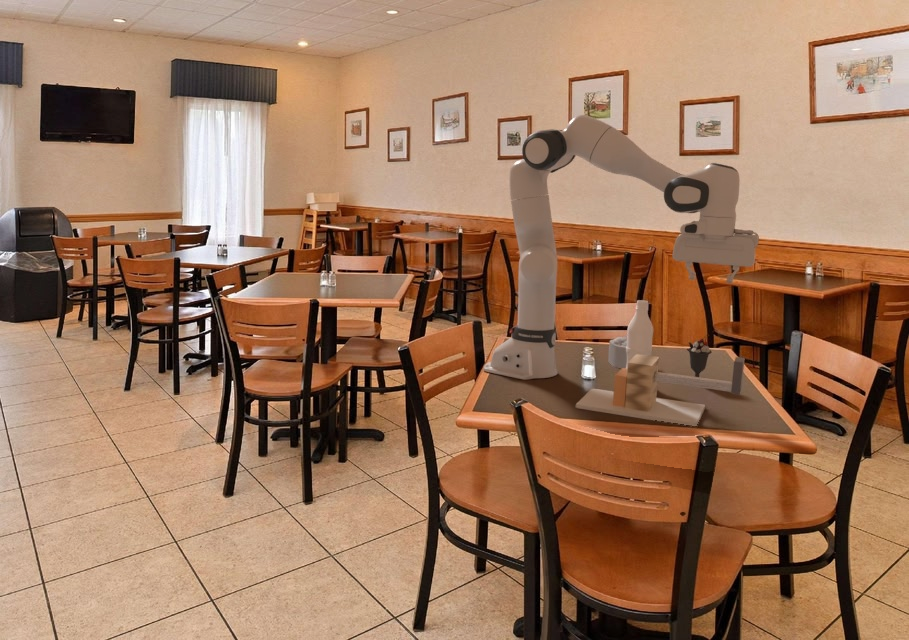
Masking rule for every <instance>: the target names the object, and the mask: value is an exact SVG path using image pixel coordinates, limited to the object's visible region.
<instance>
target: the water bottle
mask: <svg viewBox="0 0 909 640" xmlns="http://www.w3.org/2000/svg"><path fill="white" fill-rule="evenodd" d="M648 304H649V301H648V300H643V299H641V300H640V299H638V300H636V305H635V308H634V309H635V313H634V315H633V317H632V318H631V320H630V322H629V323H628V326H627V330H626V331H627V334H626V335H627V336H626V337H627V346H626V353H627V364H626V369H628V362H629V361H630V360H631V359H632V358H633V357H634V356H635V355H636V354H639V355H647V356H652V353H653V347H652V346H653V338H654V326H653V323H652V321H651V318H650V317H649V314H648V313H649V312H648V311H649V305H648Z"/></svg>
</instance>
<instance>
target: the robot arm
mask: <svg viewBox="0 0 909 640" xmlns="http://www.w3.org/2000/svg"><path fill="white" fill-rule="evenodd" d="M521 151H522V153H521V155H522V157H523V158H521V159H519V160H517V161H515V162H514V163H513V164H512V165H511V167H510V170H509V196H510V204H511V211H512V218H513V225H514V231H515V235H516V242H517V245H518V246H517V247H518V252H519V257H520V258H519V261H518V279H517V280H518V292H517V293H518V295H517V296H518V297H517V298H518V300H517V302H518V303H517V304H518V305H517V306H518V307H517V324H514V326H512V327H511V328H510V330H509V334H511V337H509V338H508V339H507V340H505V341H504V342H502V343H501V344H499V345H498V346H496V347H495V349H493V353H492V356H491V361H488V362H486V363H485V364H484V365H483V371H484V372H488V373H492V374H494V375H501V376H505V377H510V378H514V379H520V380H524V381H525V380H526V381H527V380H533V379H545V378H551V377H555V376H557V375H558V370H557V369H558V368H557V366H556V357H555V355H556V354H555V344H556V339H557V336H556V335H557V334H556V333H557V332H556V327H555V319H556V301H557V300H556V298H557V297H556V295H557V274H558V254H557V253H558V252H557V247H556V239H555V234H554V226H553V219H552V211H551V203H550V197H549V190H548V189H549V188H548V176H549V174H550V173H552V174H553V173H555V172H557V171H559V170H561V169H563V168H565V167H566V166H569V165H570V164H571V163H572V162H573V161H574V159H575V157H579V158H582V159H583V160H585V161H586V162H588V163H589V164H591V165H593V166H594V167H596V168H599V169H600V170H603V171H605V172H608V173H611V174H615V175H622V176H628V177H633V178H636V179H638V180H641V181H643V182H645V183H646V184H649V185H650V186H652V187H654V188H655V189H656V190H659V191H661V192H662V193H663V198H664V199H663V200H664V203H665V204H666V206H667V208H669V209H670V210H672V211H673V212H676V213H679V214H696V213H699V220H696V221H695V220H693V221H691V222H688V223H685V224H681V225H680V228H679V231H680V234H679V235H678V236H677V237H676V239H675V242H674V245H673V251H672V259H674V261H676V262H685V268H686V269H687V272H688V279H689V280H695V279H696V275H697V274H696V272H694V271H693V269H692V266H693V263H699V264H709V265H710V264H711V265H721V266H732V270H733V272H732V273H731V275H727V276H726V281H725V282H726V283H727V284H733V282H734V276H735V275H736V274H737V273H738V272H739V270H740V267H746V268H750V267H753V266H754V264H755V262H756V248H757V247H758V245H759V243H760V242H759V240H760V236H759V235H758V233H757V232H755V231H754V230H753V229H752V230H751V229H746V230H745V229H738V228H737V229H736V221H737V212H736V207H737V205H738V202H739V195H740V173H739V171H738V170H737V169H736V168H735V167H734V166H729V165H727V164H722V163H715V162H712V163H708V164H707V165H706V166H704V167H703V168H700V169H698V170H696V171H693V172H691V173H689V174H681V173H680V172H677V171H676V170H673V169H671V168H670V167H668V166H666V165H664V164H662V163H661V162H659V161H657V160H656V159H654V158H653V157H651V156H650V155H649V154H647V153H646V152H645V151H644V150H642V149H641V148H640V147H639V146H638V145H637V144H636V143H635V142H634V141H632V140H631V138H629V137H628V136H627V135H625V133H623V132H621V131H620V130H618V129H617V128H615V127H613V126H612V125H610V124H609V123H606V122H604V121H602V120H599V119H597V118H594V117H592V116H590V115H589V116H588V115H586V114H579V115H576V116H574V117H573V118H572V119H571V120H570V121H569V122H568V123H567V125H566V127H565V128H564V129H563V130H562V129H553V128H551V129H545V130H544V129H543V130H537V131H535V132H533V133H531V134H530V135H529V136H527V137H526V138H525V140H524V142H523V144H522V149H521Z"/></svg>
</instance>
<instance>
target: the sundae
mask: <svg viewBox="0 0 909 640" xmlns="http://www.w3.org/2000/svg"><path fill="white" fill-rule="evenodd" d="M709 336H710V334H706V335H705V336H704V337H703V338H700V339H699V340H696V341H695V342H694V343H691V342H688V345H689V348H686V351H688V353H689V360H690V361H689V364H690V369H691V370H692V371H693V372H694V377H700V374H701V373H702V372H704V371H705V369H706V367H707V363H708V362H707V361H708V357H709V356H710V355H711V354H712V350H711V349H710V347H709V345H708V342H707V338H708V337H709ZM704 339H705V340H704Z"/></svg>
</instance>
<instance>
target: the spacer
mask: <svg viewBox="0 0 909 640" xmlns="http://www.w3.org/2000/svg"><path fill="white" fill-rule="evenodd" d="M627 371H628V369H625V368H622V369H619V371H618V372H616V373H615V374H614V381H613V392H614V395H613V405H616V406H622V407H625V399H626V385H627Z"/></svg>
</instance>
